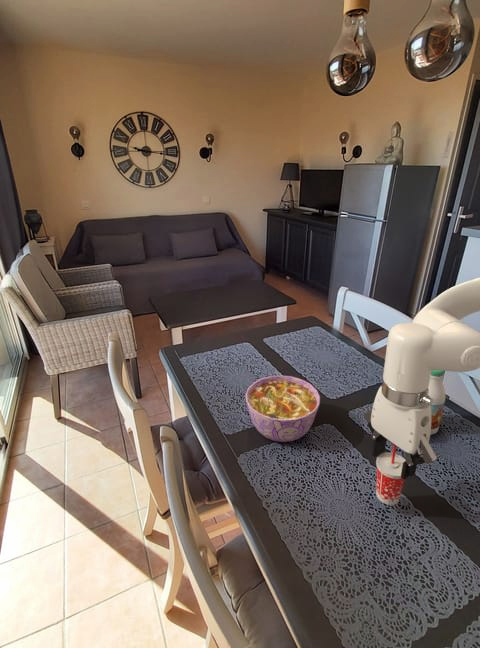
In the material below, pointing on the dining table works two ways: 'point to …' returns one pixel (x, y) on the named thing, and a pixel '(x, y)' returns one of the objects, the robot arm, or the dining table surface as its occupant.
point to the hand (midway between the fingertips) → (392, 463)
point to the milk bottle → (436, 398)
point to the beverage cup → (389, 477)
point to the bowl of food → (282, 407)
